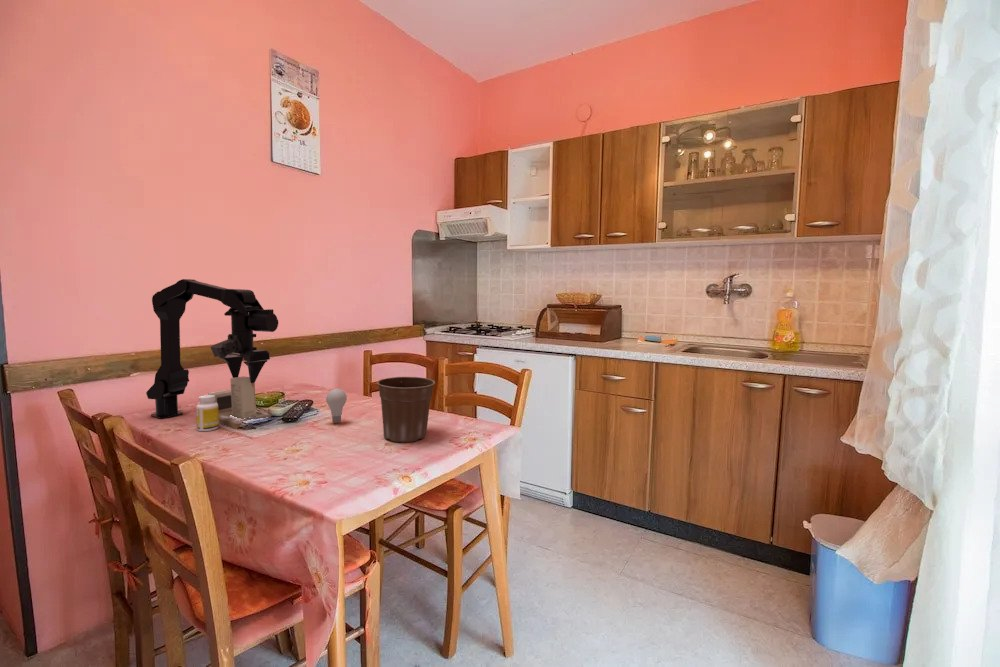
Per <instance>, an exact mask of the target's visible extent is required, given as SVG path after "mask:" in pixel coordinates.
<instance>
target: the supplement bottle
mask: <svg viewBox="0 0 1000 667" xmlns="http://www.w3.org/2000/svg"><path fill="white" fill-rule="evenodd" d="M214 401H215V395H208V394H205V395H200V396H199V397H198V404H196V429H197V431H198V432H211V431H215V430H217V429H218V428H220V424H219V412H218V404H217V403H216V402H214Z"/></svg>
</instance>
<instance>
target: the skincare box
mask: <svg viewBox="0 0 1000 667" xmlns="http://www.w3.org/2000/svg"><path fill="white" fill-rule="evenodd" d="M229 380H230V391H231V400H232V416H234V417H237V418H241V419H244V418H249V417H255V416H256V411H257V406H256V405H257V404H256V401H257V400H256V383H251V382H250V377H249V376H238V377H235V378H233V377H230V379H229Z"/></svg>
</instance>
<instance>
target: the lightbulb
mask: <svg viewBox="0 0 1000 667" xmlns="http://www.w3.org/2000/svg"><path fill="white" fill-rule="evenodd" d="M347 396H348V395H347V394H346V392H345V390H343V389H341V388H333V389H331V390H329V391H328V392H327V394H326V396H325V401H326V404H327V405H328V408H329V409H330V415H331V420H332V423H335V424H339V423H340V422H341V421H342V414H343V409H344V407H345V405H346V403H347V400H348V397H347Z"/></svg>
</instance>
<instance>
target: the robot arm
mask: <svg viewBox="0 0 1000 667" xmlns="http://www.w3.org/2000/svg"><path fill="white" fill-rule="evenodd" d="M195 295H196V296H201V297H205V298H209V299H211V300H217V301H218V302H221V303H222V304H223V305H224V306H227V307H229V309H227V311H225V312H224V316H227V317H230V321H231V333H228V334H227V339H225V340H222V341H220V342H217V343H215V344H213V345H211V346H210V349H211V352H212V354H213V356H214V357H215V358H216V357H219V359H220V360H222V361H224V362H225V363H226V364H227V366H228V369H229V371H230V374H231V376H232V377H231V378H235V377H240V376H239V375H240V372H241V369H242V368H241V367H242V364H245V365H246V366H247V368H248V375H249V376H248V377H250V382H251V383H255V382H256V381H257V379H258V378H259V375H260V373H261V371H262V369H263V368H264V366H265V365H266V363H267V362H268V360H270V359H271V353H270V352H269V351H268V350H266V349H257V348H258V347H257V346H254V338H257V333H254V332H263V333H264V332H265V333H266V332H267V333H274V332H275V331H276V330H277V329H278V327H279V319H278V316H277V315H276V314H275V312H274V309H270V308H268V309H264V308H263V306H262V305H261V303H260V302H259V300H258V299H257V298H256V295H255V292H254V291H253V290H250V289H242V288H241V289H240V288H226V287H221V286H218V285H214V284H210V283H206V282H203V281H199V280H196V279H191V278H189V279H187V278H186V279H184V278H183V279H180V280H178V281H177V282H176V283H174V284H172V285H169V286H166V287H165V288H163V289H161V290H160V291H157V292H155V293H154V294H152V296H151V303H152V308H153V312H154V314H155V315H156V316H157V317H158V319H159V330H160V331H159V332H160V334H159V336H160V339H159V340H160V366H159V368H158V370H157V371H156V373H155V374H154V382H153V384H152V385H151V387H150V388H149V389H148V390H147V391H146V392H145V394H146V396H147V399H148V400H155V402H154V403H155V412H154V413H151V414H150V416H152V417H154V418H157V419H160V420H161V419H165V418H170V417H171V418H172V417H176V416H181V415H183V414H184V412H182V411H179V403H178V396H180V395H183V394H184V393H185V391H186V388H187V386H188V384H189V383H188V382H190V378H189V372H190V371H189V369H188V368H186V369H185V368H184V367H183V366H182V364H181V329H180V328H181V327H180V324H181V323H180V322H181V321H180V320H181V318H182V317H183V315H184V313H185V311H186V306H187V303H188V302H189V301H191V300H192V299H193V298H194V296H195ZM255 384H256V383H255Z"/></svg>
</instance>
